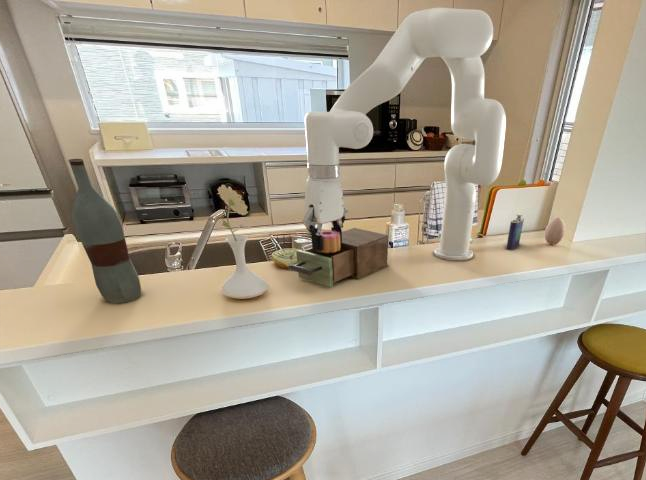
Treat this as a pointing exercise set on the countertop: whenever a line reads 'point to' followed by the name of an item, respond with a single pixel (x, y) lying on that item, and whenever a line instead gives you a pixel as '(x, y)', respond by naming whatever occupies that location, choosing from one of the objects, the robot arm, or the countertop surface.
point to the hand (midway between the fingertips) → (327, 246)
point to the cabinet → (366, 250)
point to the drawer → (325, 265)
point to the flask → (515, 233)
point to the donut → (330, 241)
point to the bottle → (103, 241)
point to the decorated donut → (285, 257)
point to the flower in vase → (239, 254)
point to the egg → (555, 231)
